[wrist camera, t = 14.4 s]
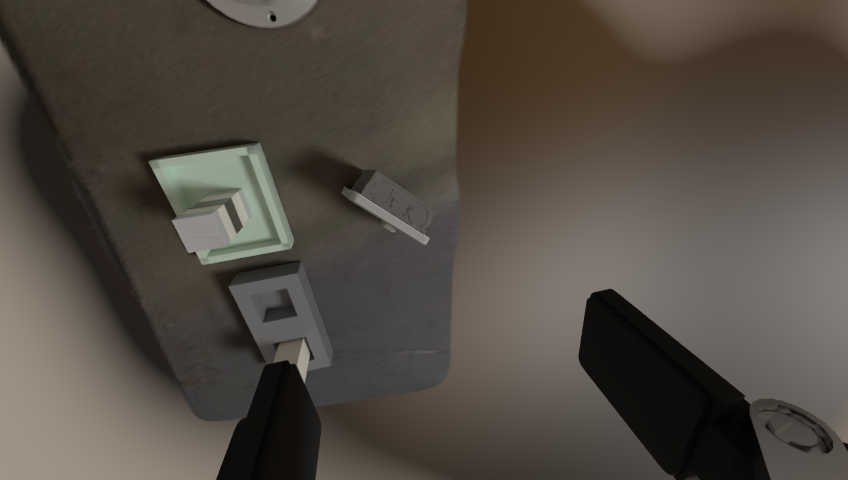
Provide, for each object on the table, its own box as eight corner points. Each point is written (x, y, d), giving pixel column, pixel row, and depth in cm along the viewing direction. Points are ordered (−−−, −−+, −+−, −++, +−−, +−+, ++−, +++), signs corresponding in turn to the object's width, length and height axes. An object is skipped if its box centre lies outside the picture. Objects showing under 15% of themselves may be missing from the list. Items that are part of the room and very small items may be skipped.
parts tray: (160, 156, 33) (148, 161, 31) (259, 142, 34) (253, 145, 32) (210, 255, 38) (202, 264, 36) (294, 240, 39) (290, 248, 37)
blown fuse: (210, 192, 34) (171, 220, 27) (242, 188, 35) (211, 214, 28) (222, 220, 36) (188, 253, 29) (252, 215, 36) (226, 246, 29)
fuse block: (237, 273, 40) (228, 286, 37) (301, 261, 40) (297, 273, 38) (279, 362, 47) (274, 378, 44) (332, 350, 48) (331, 365, 45)
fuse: (282, 332, 44) (266, 379, 37) (305, 327, 44) (295, 373, 37) (289, 349, 46) (276, 397, 39) (312, 344, 46) (303, 391, 39)
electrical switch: (339, 191, 37) (339, 213, 29) (363, 155, 37) (369, 167, 28) (402, 230, 41) (418, 259, 33) (425, 198, 40) (447, 220, 32)
